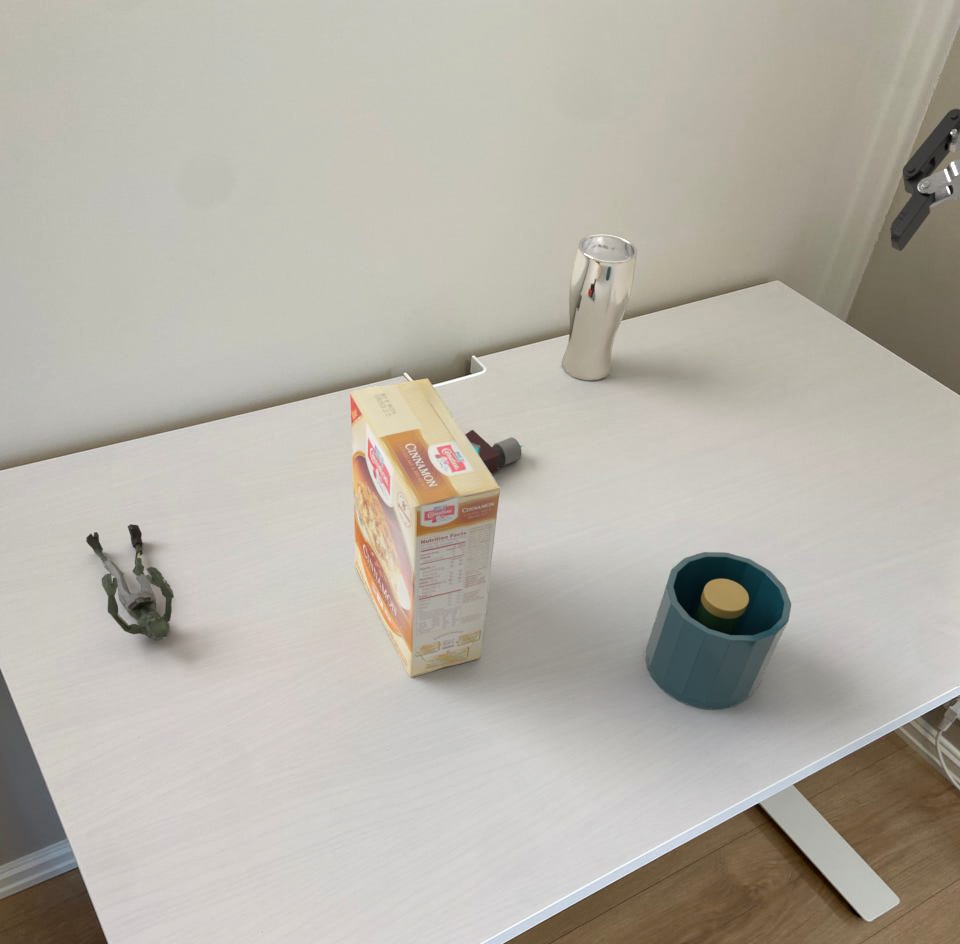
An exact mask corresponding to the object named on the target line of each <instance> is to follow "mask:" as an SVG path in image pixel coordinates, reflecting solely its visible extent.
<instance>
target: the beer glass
mask: <svg viewBox="0 0 960 944" xmlns="http://www.w3.org/2000/svg"><path fill="white" fill-rule="evenodd" d="M577 245H578V246H577V251H576V254H575V257H574V262H573V267H572V272H571V277H570V283H569V284H570V285H569V296H568V306H569V307H568V308H569V311H568V313H569V314H568V315H569V335H568V342H567V345H566V349H565V351H564V354H563V357H562V359H561V367H562V369H563V370H564V372H566V373H567V375H569V376H571V377H573V378H576V379H578V380H582V381H599V380H603V379H605V378H606V377H608V376H609V375H610V373H611V371H612V363H613V362H612V361H613V360H612V359H613V358H612V357H613V356H612V355H613V354H612V353H613V346H614V341H615V338H616V336H617V332H618V330H619V328H620V325H621V322H622V320H623V318H624V315H625V312H626V310H627V307H628V304H629V302H630V297H631V294H632V289H633V284H634V278H635V271H636V264H637V262H636V261H637V256H638V249H637V247H636V246H635V244H634V243H632V242H631V241H630V240H628V239H626V238H624V237H621V236H618V235H614V234H609V233H595V234H594V233H593V234H589V235H586V236H584V237H582V238H581V239H580V240H579V241H578V244H577Z"/></svg>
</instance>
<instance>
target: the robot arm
mask: <svg viewBox="0 0 960 944" xmlns="http://www.w3.org/2000/svg"><path fill="white" fill-rule="evenodd" d="M958 150H960V109H959V108H953V109H951V110H949V111H948V112H947V113H946V114H945V115H944V117H943V118H942V119H941V120H940V121H939V123H938V124H937V126H936V127H935V128H934V129H933V130H932V131H931V133H930V134H929V135H928V136H927V138H926V139H925V140H924V141H923V142H922V144H920V147H919V148H918V149H917V150H916V151H915V153H914V154H913V155H912V156H911V158H909V160H908V161H907V162H906V164H905V165H904V166H903V167H902V178H903V185H904V191H905V192H906V193H907V194H911V196H910V198H909V199H908V201H907V202H906V203H905V205H904V206H903V207H902V209H901V210H900V212H898V214H897V216H896V217H895V218H894V220H893V221H892V222H891V225H890V228H889V232H890V243H891V248H892V249H895V250H897V251H899V252H901V251H903V250H904V249H905V248H906V246H907V244H908V243H909V242H910V241H911V239H912V238H913V236H914V235H915V234H916V232H917V231H918V230H919V228H920V227H921V226H922V224H923V223H924V222H925V220H926V219H927V218H928V216H929V215H930V214H931V208H933V207H935V206H937V205H940V204H942V203H945V202H947V201H949V200H959V199H960V158H957V159H955V160H953V161H951V162H950V163H949V164H948V165H947V166H946V168H944V169H942V170H939V171H938V172H935V171H936V169H937V168H938V167H939V166H940V165H941V164H942V162H943V161H944V160H945V159H946V157H947V156H948V155H949V153H950V152H951V153H956V152H958ZM934 172H935V173H934Z"/></svg>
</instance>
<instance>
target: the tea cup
mask: <svg viewBox="0 0 960 944" xmlns="http://www.w3.org/2000/svg"><path fill="white" fill-rule="evenodd" d="M714 579H728V580H732V581H734V582H736V583H738V584H740V585H741V586H742V587H743V588H744V589H745V590H746V591H747V593H748V596H749V603H748V605H747V608H746V610H745V612H744V613H743V614H742V617H741V619H740V621H739V624H738V626H737V629H736V631H735V634H734V635H728V634H725V633H722V632H718V631H715V630H711V629H709V628H707V627H705V626H704V625H702V624H701V623H699V622H697V621H696V620H694V618H695V615H696V613H697V610H698V607H699V604H700V602H701V595H702V592H703V590H704V587H705V585H706V584H707V583H708V582H710V581H711V580H714ZM790 599H791V598H790V596H789V594H788V591H787V588H786V587H785V585H784V584H783V583H782V582H781V581H780V580H779V579H778V577H776V575H774V574H773V572H772V571H770V569H767V568H766V567H764V566H763V565H761V564H759V563H758V562H756V561H754V560H752V559H751V558H747V557H744V556H741V555H737V554H733V553H730V552H725V551H724V552H721V551H719V552H718V551H717V552H715V551H704V552H703V551H702V552H700V553H697V554H693V555H690V556H687V557H685V558H682V560H680V561H679V562H678V563H677V564H676V565H675V566H673V567H672V568H671V570H670V572H669V576H668V579H667V582H666V585H665V587H664V590H663V594H662V598H661V601H660V604H659V607H658V610H657V614H656V617H655V620H654V623H653V626H652V630H651V632H650V635H649V639H648V642H647V645H646V649H645V664H646V667H647V671H648V673H649V675H650V676H651V678H652V679H653V681H654V682H655V683H656V684H657V686H658V687H659V688H660V689H662V690H663V692H665V693H666V694H668V695H669V696H670V697H671V698H673V699H675V700H677V701H678V702H681V703H683V704H686V705H688V706H692V707H694V708H698V709H703V710H725V709H729V708H732V707H736V706H738V705H740V704H742V703H744V702H745V701H746V700H748V699H749V698H750V697H751V696H752V695H753V693H754V692H755V690H756V688H757V687H758V686H759V684H760V682H761V680H762V679H763V676H764V675H765V672H766V670H767V668H768V666H769V663H770V661H771V659H772V657H773V655H774V653H775V651H776V649H777V646H778V644H779V642H780V641H781V638H782V635H783V634H784V631H785V629H786V627H787V625H788V623H789V620H790V615H791V609H792V601H791V600H790Z"/></svg>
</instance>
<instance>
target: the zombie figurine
mask: <svg viewBox="0 0 960 944" xmlns="http://www.w3.org/2000/svg"><path fill="white" fill-rule="evenodd" d="M127 529H128V532H129V536H130V542H131V545H132V547H133V548H134V549H135V556H134V567H133V569H132V570H131V571H132V573H133V574H134V575H135V579H136V582H137V583H138V585H139V587H140V592H139V591H138V592H135V593H132V592H131V590H130V588H129V586H128V584H127V582H126V579H125V573H124V572H123V571H122V570H120V568H119V566H118V565H116V564H115V562H114V561H113V560H111V559H110V558H109V557H107V556H106V555H104V553H103V550H104V548H103V546H102V545H101V542H100V534H99V533H98V532H97V531H95V532H93V534H92V533H89V534H88V535H87V536H86V539H85V542H86V544H87V545H88V546H89V547H90V548H91V549H92V551H93V553H94V554H95V555H98V557H99V558H100V560H101V562H102V564H103V567H104V568H105V570H107V571H108V572H109V573H105V574H104V575H103V576H102V578H101V579H100V581H101V586H102V588H103V590H104V591H105V593H106V595H107V613H108V614H109V615H110V616H111V617H112V618H113V620H114V621H115V622H116V623H117V624H118V625H119V627H120V628H121V629H122V630H123V631H124V632H126V633H129V634H131V635H143V636H147V637H148V638H152V639H154V640H155V641H156V640H158V641H159V640H162V639H164V638H168V635H169V633H170V630H171V627H170V623H169V622H171V619H172V612H173V609H172V607H173V605H172V603H173V598H175V596H174V592H173V589H172V588H171V584H170V583H168V581H167V580H166V579H165V577H164V576H163V574H162V573H161V571H160V570H159V569H158V568H156V567H153V566H149V567H147V568H146V569H145V565H143V560H142V558H141V556H142V555H143V553H144V550H143V545H144V543H143V539H142V535H143V534H142V531H141V529H140V527H139V525H138V524H132V523H131V524H129V525H127ZM144 570H146V571H147V572H148V574H145V572H144ZM152 586H154V587H157V588H159V589H160V592H161V595H162V596H163V597H164V599H165V605H164V607H165V608H164V613H163V615H161V614H160V613H159V612H158V611H157V606H158V605H157V598H156V595H155V591H154V589H153V587H152ZM116 592H117V593H116ZM116 594H117V596H118V600H119V602H120V604H121V605H122V607H123V608H124V610H125V611H126V612H127V613H128V614H129V616H131V617H132V618H133V619H135V620H136V621H137V622H138V624H137V623H131V624H129V623H127V621H126V620H125V619H124V618H123V617H122V616H121V615H120V614H119V605H118V601H117V599H116V597H115V596H116Z"/></svg>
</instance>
